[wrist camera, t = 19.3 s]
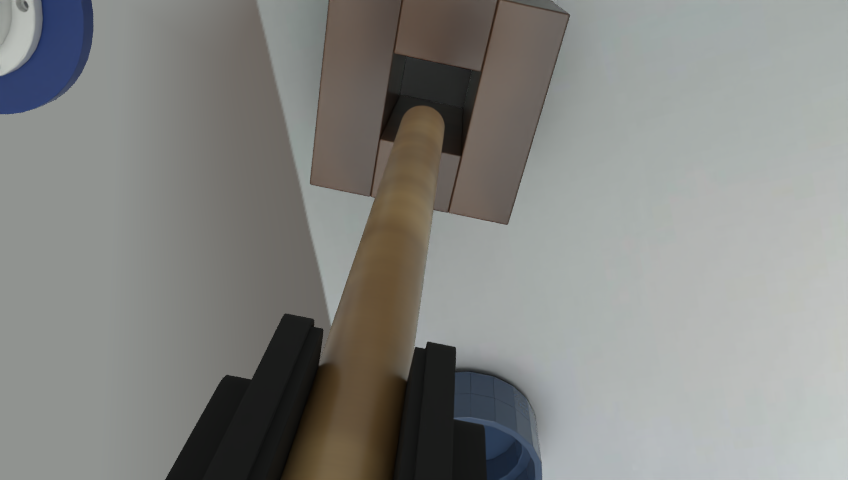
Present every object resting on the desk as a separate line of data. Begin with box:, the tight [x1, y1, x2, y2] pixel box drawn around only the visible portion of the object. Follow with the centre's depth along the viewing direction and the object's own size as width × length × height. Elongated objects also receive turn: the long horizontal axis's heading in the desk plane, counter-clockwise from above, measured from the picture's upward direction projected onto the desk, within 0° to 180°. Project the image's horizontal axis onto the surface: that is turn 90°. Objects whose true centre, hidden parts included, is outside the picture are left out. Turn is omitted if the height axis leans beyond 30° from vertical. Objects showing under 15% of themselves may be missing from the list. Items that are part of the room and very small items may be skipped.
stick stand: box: [310, 0, 570, 225], centre depth 34 cm, size 12×12×10 cm
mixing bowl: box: [454, 372, 542, 480], centre depth 50 cm, size 13×13×6 cm
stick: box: [280, 106, 445, 480], centre depth 15 cm, size 2×2×20 cm
